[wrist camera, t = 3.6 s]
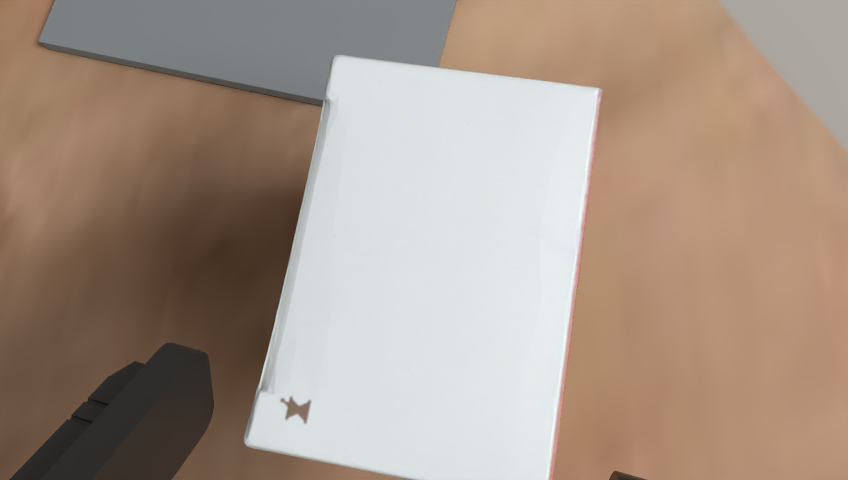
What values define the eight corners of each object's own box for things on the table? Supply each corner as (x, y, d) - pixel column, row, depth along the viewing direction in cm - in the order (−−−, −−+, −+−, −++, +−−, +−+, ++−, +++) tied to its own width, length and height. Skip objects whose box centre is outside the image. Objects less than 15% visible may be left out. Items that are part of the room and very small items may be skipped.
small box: (520, 450, 20) (553, 526, 10) (356, 417, 21) (232, 457, 11) (554, 217, 22) (612, 78, 12) (400, 194, 23) (328, 45, 12)
